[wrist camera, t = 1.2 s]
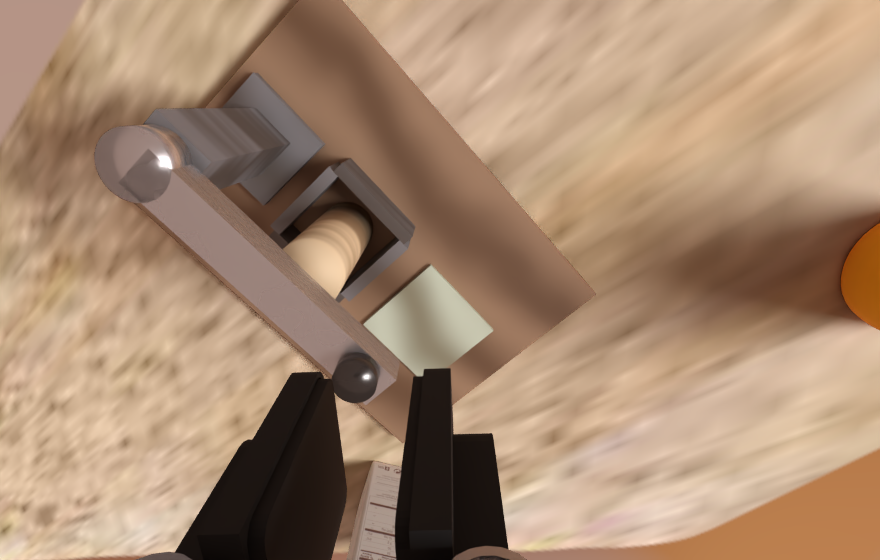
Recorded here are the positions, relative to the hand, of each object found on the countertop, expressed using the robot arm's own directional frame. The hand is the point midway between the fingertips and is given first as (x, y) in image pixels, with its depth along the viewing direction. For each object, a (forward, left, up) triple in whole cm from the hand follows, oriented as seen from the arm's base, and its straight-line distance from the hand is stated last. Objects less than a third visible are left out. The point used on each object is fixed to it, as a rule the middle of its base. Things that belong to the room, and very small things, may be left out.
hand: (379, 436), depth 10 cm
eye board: (+6, 0, -27) cm, 28 cm away
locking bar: (+5, -4, -13) cm, 15 cm away
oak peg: (+6, -2, -26) cm, 27 cm away
